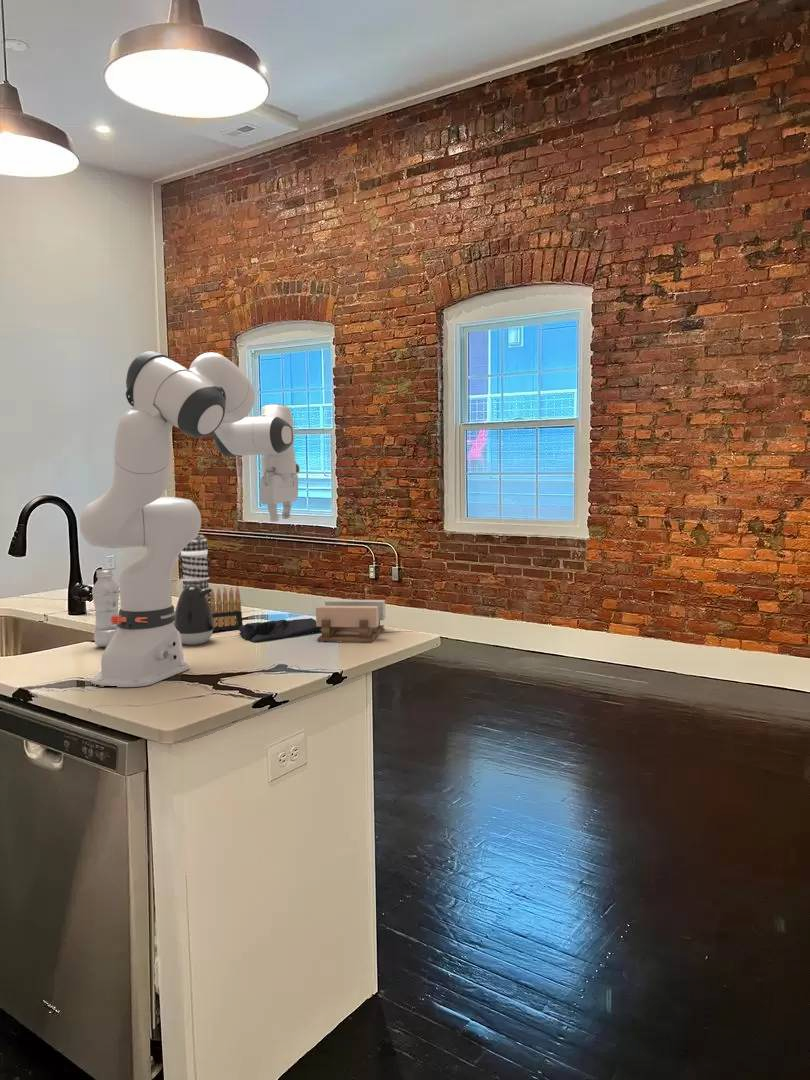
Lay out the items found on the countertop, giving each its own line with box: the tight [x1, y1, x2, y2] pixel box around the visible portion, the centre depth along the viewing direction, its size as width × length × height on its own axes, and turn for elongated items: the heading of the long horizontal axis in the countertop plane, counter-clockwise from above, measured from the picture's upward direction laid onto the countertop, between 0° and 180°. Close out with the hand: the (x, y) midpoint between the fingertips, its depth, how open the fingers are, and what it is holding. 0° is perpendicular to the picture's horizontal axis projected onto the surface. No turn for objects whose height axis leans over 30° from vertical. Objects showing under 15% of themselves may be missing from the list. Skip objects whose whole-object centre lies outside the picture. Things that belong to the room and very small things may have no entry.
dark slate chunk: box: [238, 617, 322, 643], centre depth 216 cm, size 15×22×5 cm
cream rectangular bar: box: [324, 599, 387, 621], centre depth 216 cm, size 16×3×5 cm, turn 80°
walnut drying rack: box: [317, 620, 385, 644], centre depth 212 cm, size 17×14×6 cm
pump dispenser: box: [173, 585, 214, 646], centre depth 206 cm, size 10×10×15 cm
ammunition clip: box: [205, 586, 244, 632], centre depth 222 cm, size 11×2×12 cm, turn 113°
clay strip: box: [315, 605, 379, 627], centre depth 207 cm, size 16×3×5 cm, turn 80°
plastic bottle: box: [91, 568, 120, 648], centre depth 204 cm, size 6×7×20 cm
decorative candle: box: [178, 534, 211, 605], centre depth 242 cm, size 9×9×25 cm
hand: (280, 519), depth 210 cm, fingers open, 8 cm apart
